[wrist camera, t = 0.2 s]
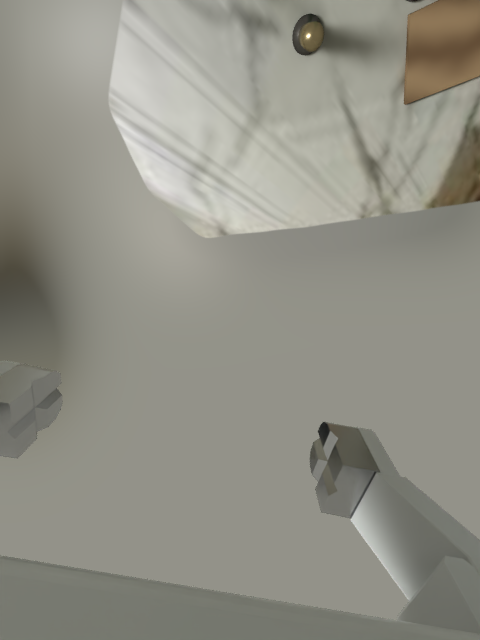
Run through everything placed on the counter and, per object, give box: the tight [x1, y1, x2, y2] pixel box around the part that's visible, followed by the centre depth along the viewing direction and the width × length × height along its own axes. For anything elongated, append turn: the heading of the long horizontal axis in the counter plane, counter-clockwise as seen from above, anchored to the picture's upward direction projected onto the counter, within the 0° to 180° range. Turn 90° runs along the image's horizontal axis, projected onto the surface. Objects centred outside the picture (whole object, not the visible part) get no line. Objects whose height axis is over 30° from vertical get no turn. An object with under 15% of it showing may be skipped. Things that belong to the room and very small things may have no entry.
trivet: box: [404, 0, 480, 105], centre depth 37 cm, size 10×10×1 cm
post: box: [293, 14, 324, 55], centre depth 34 cm, size 4×4×11 cm
